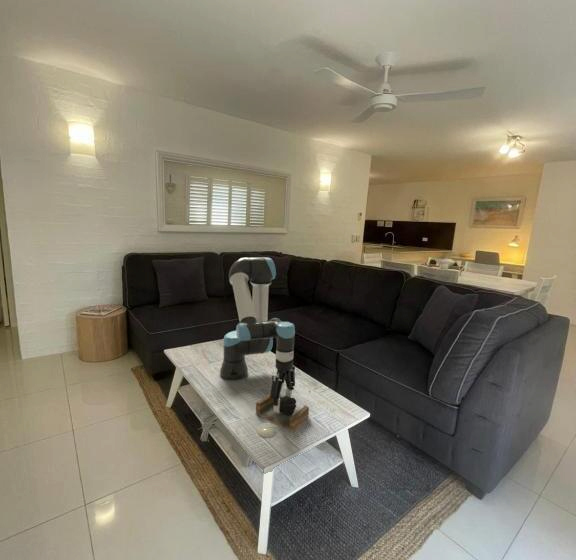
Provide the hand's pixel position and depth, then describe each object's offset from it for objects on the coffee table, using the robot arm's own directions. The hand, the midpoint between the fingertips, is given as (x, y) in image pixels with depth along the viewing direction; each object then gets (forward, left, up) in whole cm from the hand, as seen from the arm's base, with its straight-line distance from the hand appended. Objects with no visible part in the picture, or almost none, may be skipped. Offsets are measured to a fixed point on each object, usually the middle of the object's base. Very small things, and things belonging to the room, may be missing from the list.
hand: (282, 406), depth 135 cm
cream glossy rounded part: (+1, -12, -5) cm, 13 cm away
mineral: (+2, 0, 0) cm, 2 cm away
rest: (0, 0, -4) cm, 4 cm away
